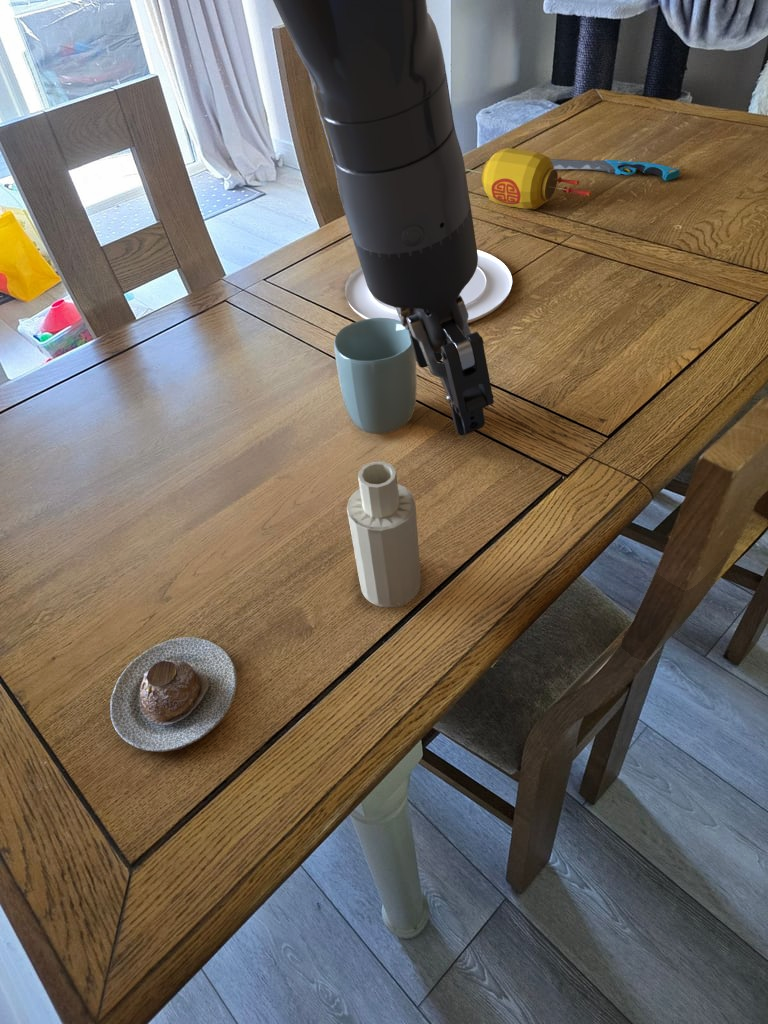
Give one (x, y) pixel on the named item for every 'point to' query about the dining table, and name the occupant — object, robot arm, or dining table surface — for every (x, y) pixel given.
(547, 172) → the lantern
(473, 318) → the plate
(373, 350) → the cup
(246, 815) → the dining table surface
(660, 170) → the knife
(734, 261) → the dining table surface
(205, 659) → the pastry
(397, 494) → the white faceted vase
